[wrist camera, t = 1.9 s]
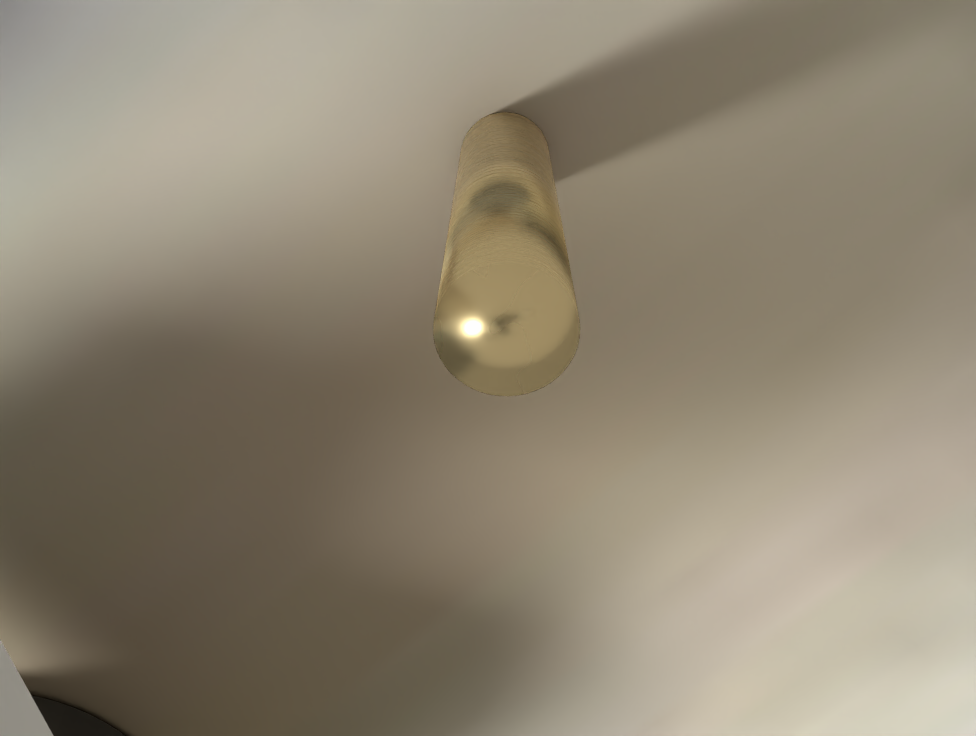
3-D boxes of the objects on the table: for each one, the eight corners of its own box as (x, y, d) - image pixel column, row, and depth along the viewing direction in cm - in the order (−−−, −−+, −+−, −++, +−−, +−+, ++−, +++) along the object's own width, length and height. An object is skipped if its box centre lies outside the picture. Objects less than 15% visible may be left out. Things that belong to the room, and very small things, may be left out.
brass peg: (554, 192, 32) (588, 385, 19) (469, 206, 32) (448, 405, 20) (542, 105, 30) (569, 251, 18) (452, 120, 31) (419, 275, 18)
